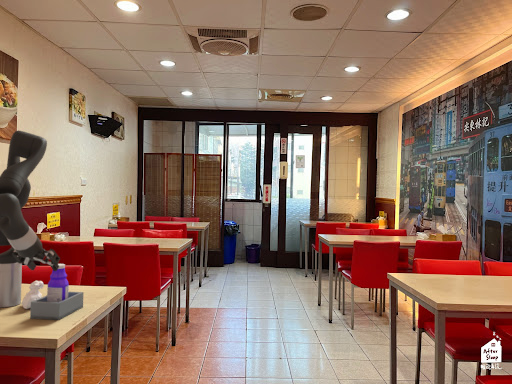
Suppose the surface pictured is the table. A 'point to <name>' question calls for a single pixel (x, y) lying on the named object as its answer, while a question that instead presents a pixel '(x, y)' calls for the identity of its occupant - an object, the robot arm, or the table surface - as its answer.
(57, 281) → the bottle
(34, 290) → the bust
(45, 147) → the robot arm
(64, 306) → the tote
